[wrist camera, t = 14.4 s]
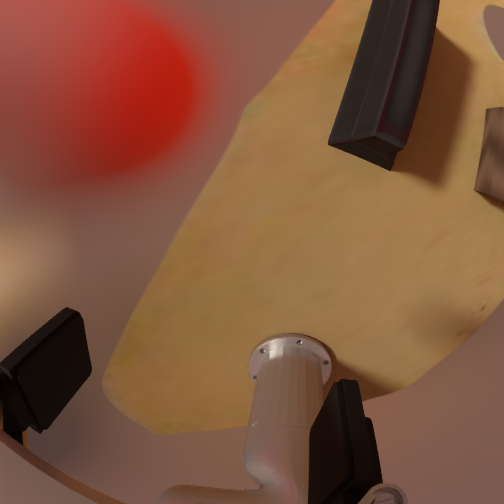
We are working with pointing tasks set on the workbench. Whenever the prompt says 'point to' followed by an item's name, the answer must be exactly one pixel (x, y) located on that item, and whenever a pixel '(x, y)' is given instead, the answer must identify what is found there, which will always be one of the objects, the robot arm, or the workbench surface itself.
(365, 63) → the barrier
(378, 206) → the workbench surface
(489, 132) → the walnut plinth
